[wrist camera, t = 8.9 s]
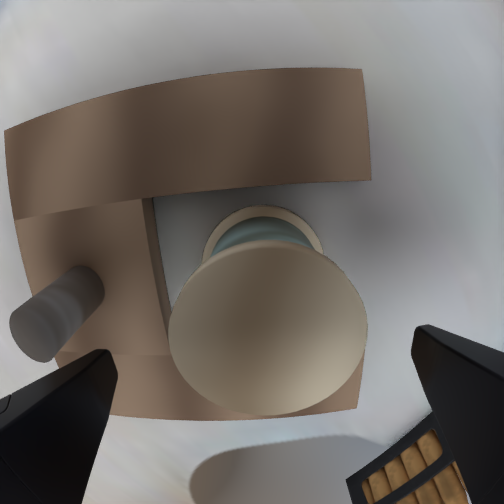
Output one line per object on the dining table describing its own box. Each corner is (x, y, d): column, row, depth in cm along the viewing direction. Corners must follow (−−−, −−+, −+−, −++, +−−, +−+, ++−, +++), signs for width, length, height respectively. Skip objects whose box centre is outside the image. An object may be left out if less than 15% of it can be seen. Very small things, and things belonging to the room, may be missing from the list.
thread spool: (319, 200, 15) (372, 239, 8) (321, 311, 16) (358, 404, 10) (197, 210, 15) (150, 256, 8) (212, 319, 17) (188, 417, 10)
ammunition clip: (440, 403, 19) (507, 520, 7) (451, 409, 19) (514, 519, 8) (344, 479, 21) (368, 592, 10) (358, 483, 22) (384, 590, 10)
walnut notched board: (352, 76, 13) (412, 32, 7) (351, 392, 18) (378, 471, 12) (20, 131, 14) (-63, 133, 7) (87, 397, 19) (50, 461, 12)
